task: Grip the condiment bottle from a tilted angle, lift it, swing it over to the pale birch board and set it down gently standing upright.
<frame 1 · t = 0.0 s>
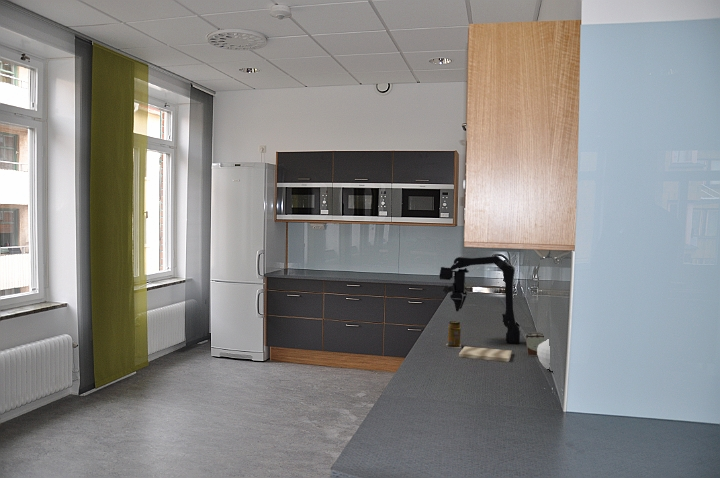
hand: (458, 310, 294), 15 cm above the countertop, tool pointing down, fingers open, 9 cm apart
condiment: (453, 346, 274), on the countertop
food container: (536, 354, 260), on the countertop
vase: (559, 370, 232), on the countertop
birch board: (485, 355, 256), on the countertop
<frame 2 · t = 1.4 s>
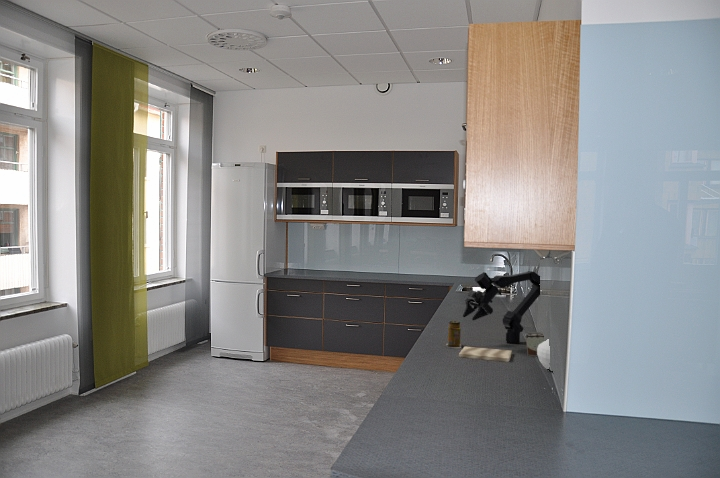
hand: (467, 318, 276), 14 cm above the countertop, tool tilted 45°, fingers open, 9 cm apart
nothing on the countertop moved.
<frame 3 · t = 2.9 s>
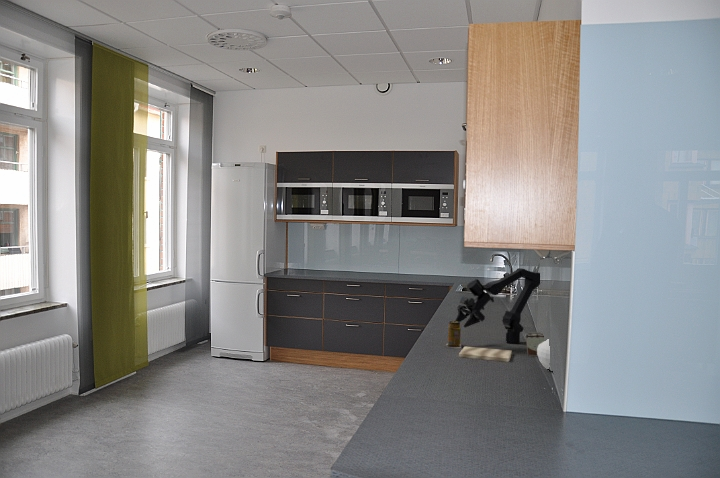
hand: (459, 325, 275), 10 cm above the countertop, tool tilted 45°, fingers open, 9 cm apart
nothing on the countertop moved.
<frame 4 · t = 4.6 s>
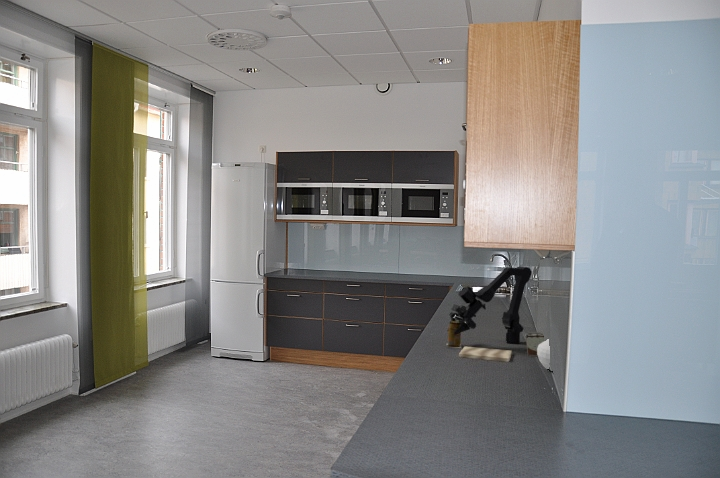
hand: (451, 332, 274), 7 cm above the countertop, tool tilted 45°, fingers open, 6 cm apart
condiment: (453, 346, 274), on the countertop, touching gripper
everything else where it was.
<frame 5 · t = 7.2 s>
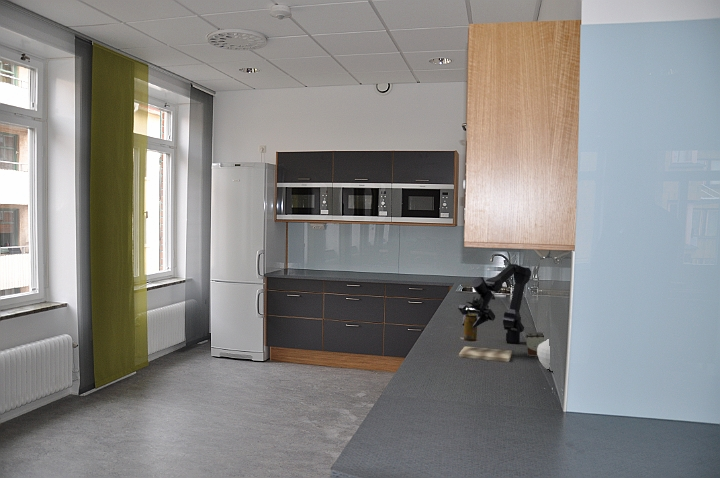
hand: (468, 326, 262), 12 cm above the countertop, tool tilted 45°, fingers closed on condiment, 6 cm apart
condiment: (470, 340, 262), point 5 cm above the countertop, touching gripper
everything else where it was.
when the fingers open (9 cm above the countertop, at t = 9.6 s): condiment stays where it is, resting on birch board.
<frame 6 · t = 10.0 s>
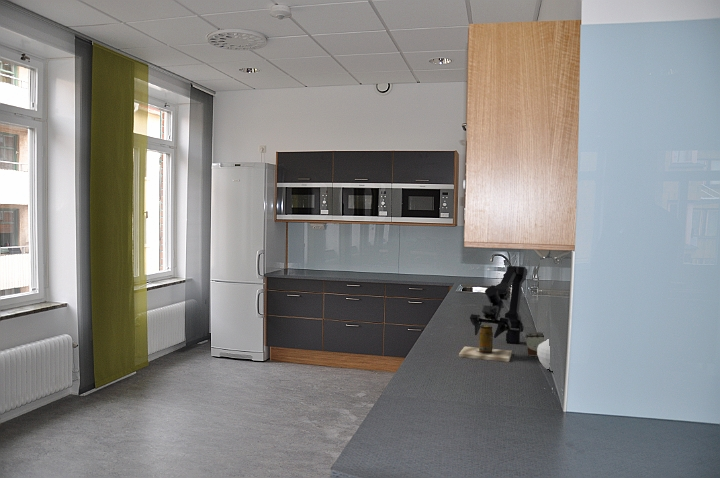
hand: (484, 336, 255), 9 cm above the countertop, tool tilted 45°, fingers open, 9 cm apart
condiment: (486, 352, 256), point 1 cm above the countertop, touching birch board
everything else where it was.
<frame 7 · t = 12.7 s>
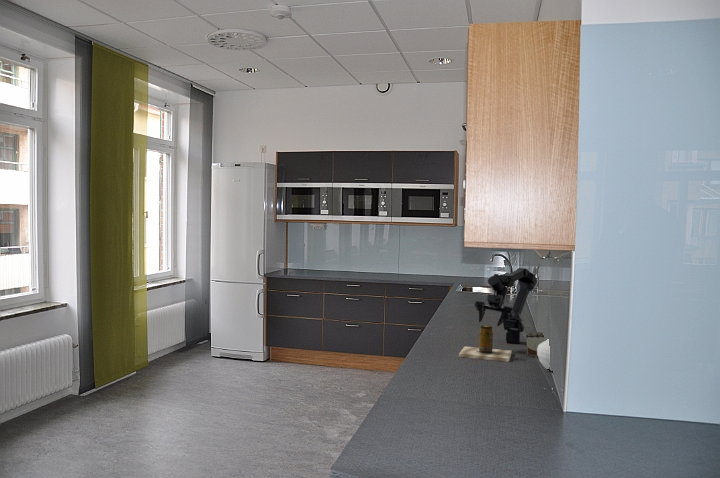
hand: (488, 323, 265), 13 cm above the countertop, tool tilted 40°, fingers open, 9 cm apart
nothing on the countertop moved.
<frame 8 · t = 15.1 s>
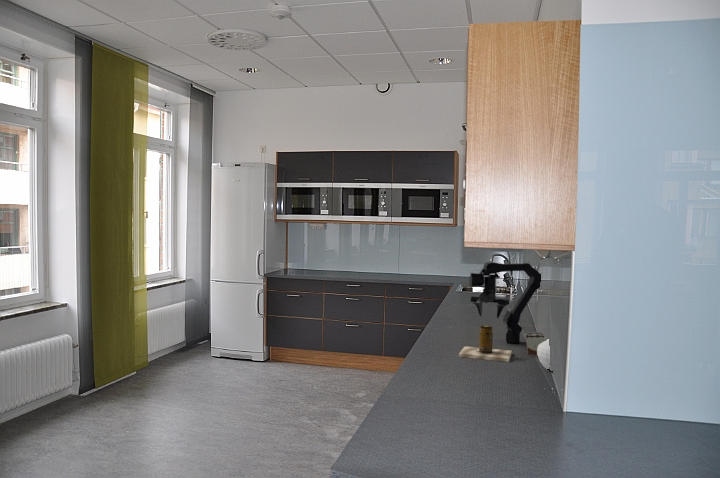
hand: (489, 317, 284), 13 cm above the countertop, tool pointing down, fingers open, 9 cm apart
nothing on the countertop moved.
at the end: condiment inside the target area on the birch board (0.4 cm from its centre), point 1.3 cm above the birch board's base; condiment tilted 0°; the gripper is holding nothing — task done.
